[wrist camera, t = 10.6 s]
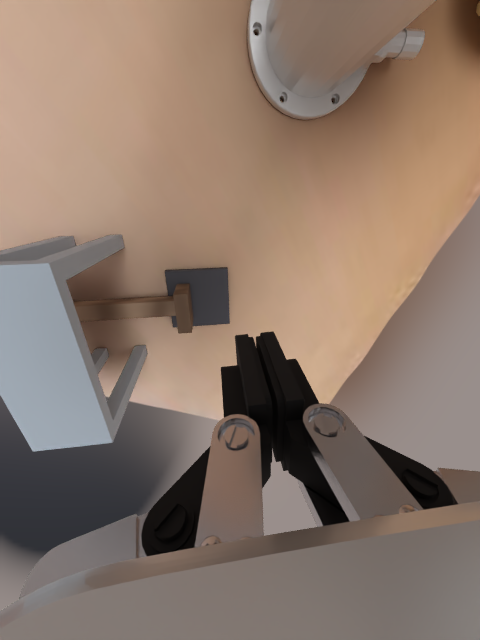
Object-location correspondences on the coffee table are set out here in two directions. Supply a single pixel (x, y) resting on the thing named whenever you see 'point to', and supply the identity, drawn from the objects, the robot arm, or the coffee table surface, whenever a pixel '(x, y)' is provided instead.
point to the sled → (141, 308)
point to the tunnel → (56, 348)
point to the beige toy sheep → (478, 9)
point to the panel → (203, 293)
